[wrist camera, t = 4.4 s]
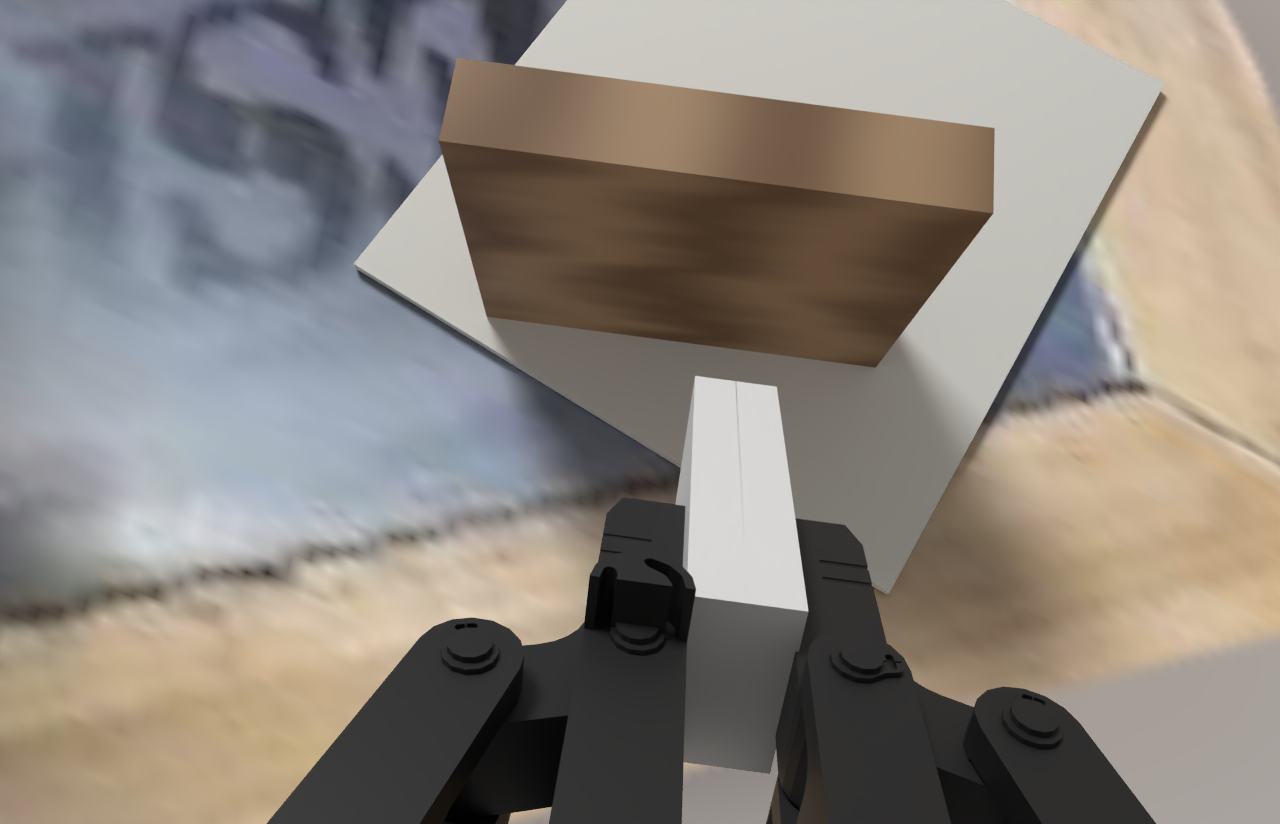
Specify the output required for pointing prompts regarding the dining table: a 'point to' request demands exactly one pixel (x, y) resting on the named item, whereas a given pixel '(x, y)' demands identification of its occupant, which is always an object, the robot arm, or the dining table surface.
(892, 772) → the robot arm
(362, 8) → the dining table surface
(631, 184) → the walnut board
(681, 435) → the felt mat
